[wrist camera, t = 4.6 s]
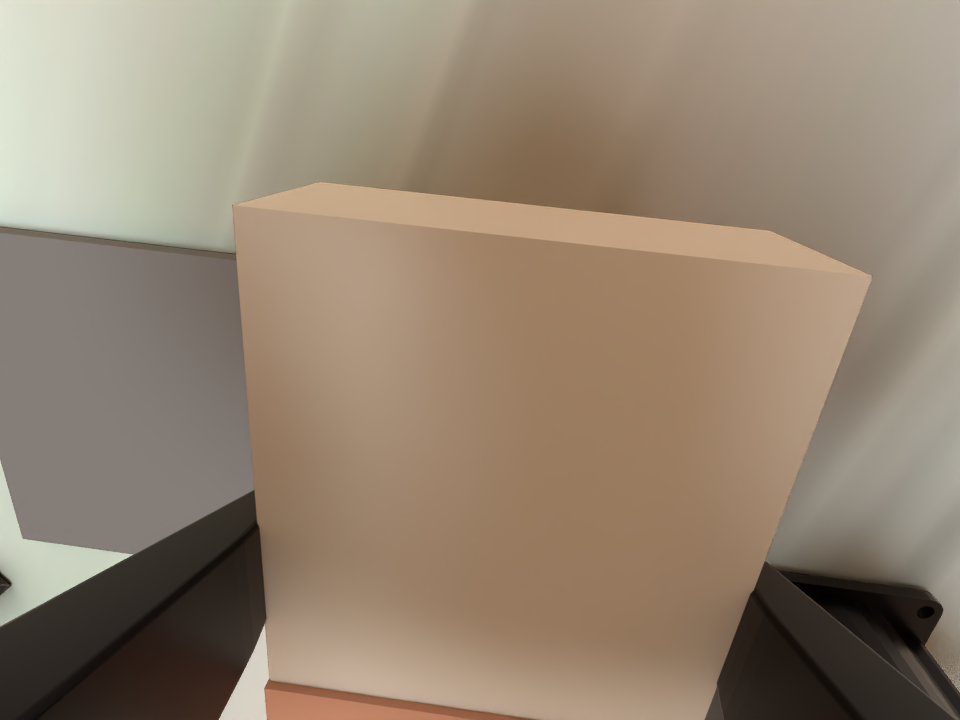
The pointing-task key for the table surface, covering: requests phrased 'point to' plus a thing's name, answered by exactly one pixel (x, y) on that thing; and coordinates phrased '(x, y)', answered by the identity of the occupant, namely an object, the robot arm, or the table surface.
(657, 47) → the table surface
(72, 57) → the table surface
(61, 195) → the table surface
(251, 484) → the card mat
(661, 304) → the card deck
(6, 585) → the ammunition clip
